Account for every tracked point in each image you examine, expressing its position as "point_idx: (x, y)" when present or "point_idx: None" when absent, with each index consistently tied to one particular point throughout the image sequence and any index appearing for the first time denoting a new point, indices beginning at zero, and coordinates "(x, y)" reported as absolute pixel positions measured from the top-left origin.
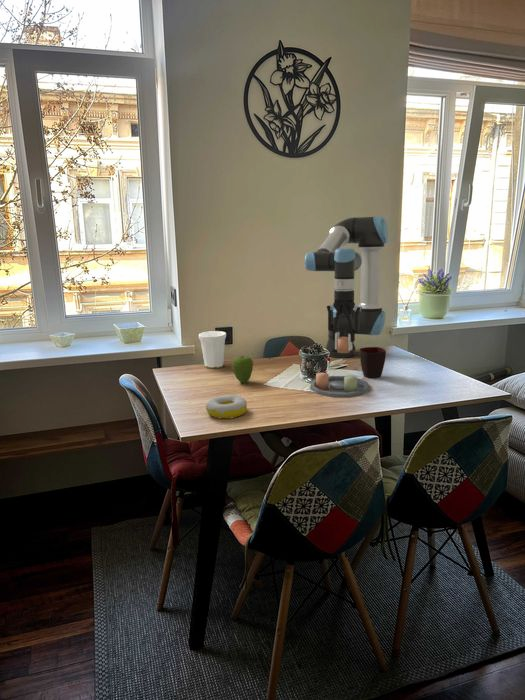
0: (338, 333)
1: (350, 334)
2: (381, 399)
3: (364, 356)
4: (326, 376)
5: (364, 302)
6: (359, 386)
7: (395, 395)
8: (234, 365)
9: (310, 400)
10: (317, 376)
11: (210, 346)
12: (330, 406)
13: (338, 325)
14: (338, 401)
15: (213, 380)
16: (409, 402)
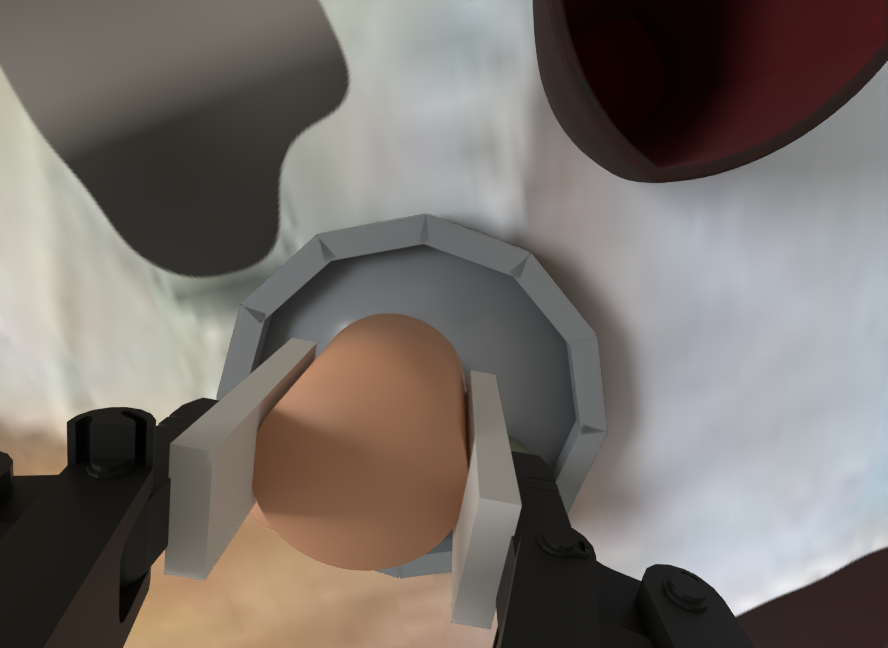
0: (222, 482)
1: (493, 612)
2: (672, 502)
3: (604, 154)
4: None
5: None
6: (538, 362)
7: (757, 424)
8: None
9: (303, 587)
10: (262, 518)
11: None
12: (421, 640)
13: (93, 582)
14: (446, 573)
15: None
16: (824, 515)
